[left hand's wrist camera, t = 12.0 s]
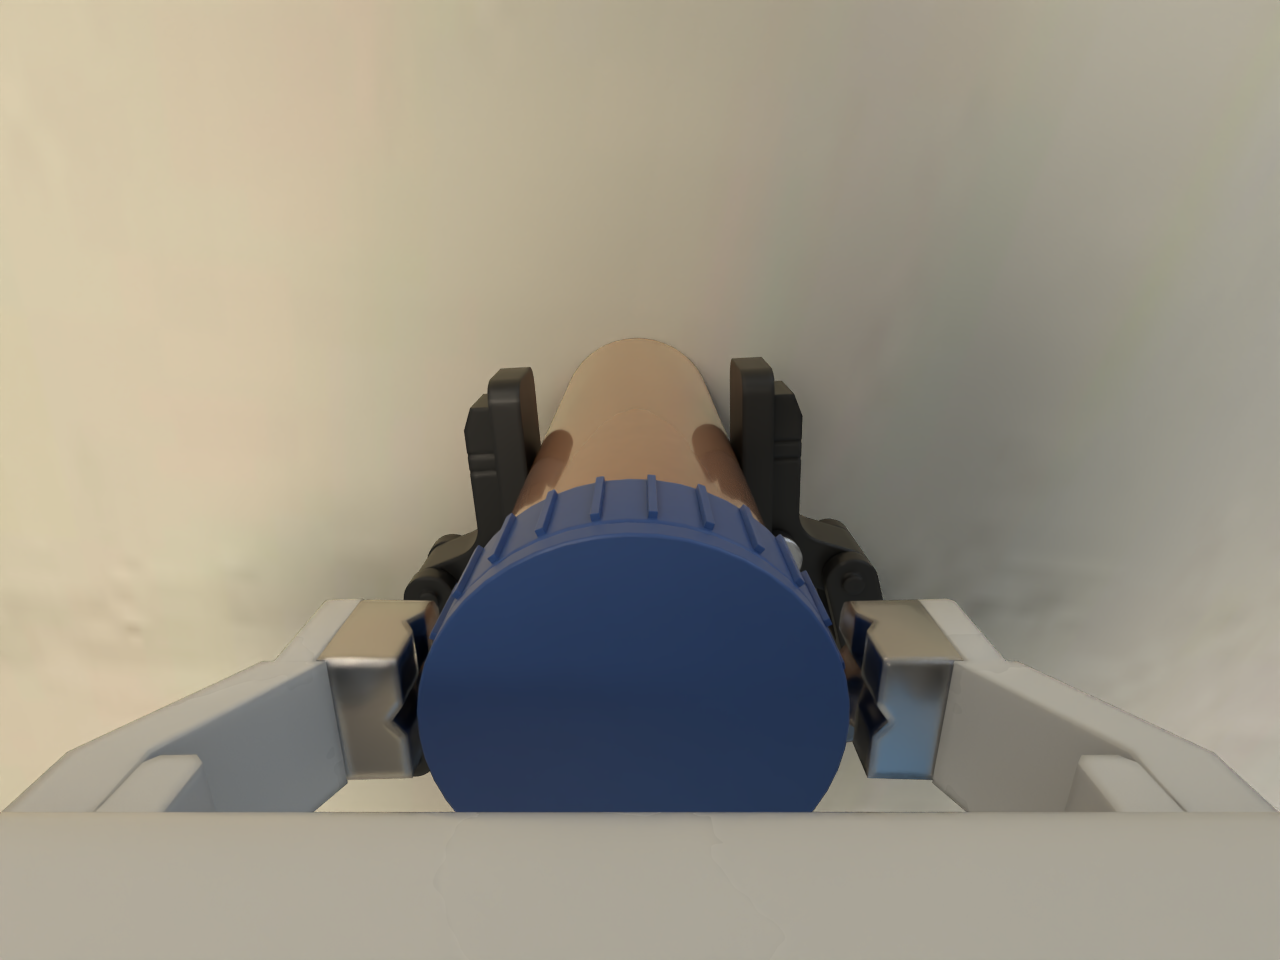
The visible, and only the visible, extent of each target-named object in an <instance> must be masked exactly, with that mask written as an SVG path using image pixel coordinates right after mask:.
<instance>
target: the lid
mask: <svg viewBox="0 0 1280 960" xmlns="http://www.w3.org/2000/svg"><path fill="white" fill-rule="evenodd" d="M830 625H832V622H831V620H830V618H829V616H828V614H827V612H826V610H825V608H824V606H823V604H822V602H821V600H820V598H819V596H818V593H817V591H816V589H815V587H814V585H813V583H812V581H811V579H810V577H809V575H808V573H807V571H806V570H805V571H803V572H801V573H800V571H799V568H798V566H797V564H796V562H795V560H794V558H793V556H792V553H791V551H790V549H789V547H788V545H787V543H786V541H785V539H784V537H783V536H782V535H781V534H779V535H778V536H777V537H775V536H774V535H773V534H772V533H771V532H770V531H769V530H768V529H767V528H766V527H764V526H763V525H762V524H761V523H759V522H758V521H757V520H756V519H754V518H753V516H752V513H751V511H750V508H749V507H747V506H746V505H744V504H743V505H742V506H741V508H738V507H737V506H735V505H733V504H731V503H730V502H728V501H726V500H724V499H722V498H719V497H717V496H715V495H712V494H710V493H708V492H707V491H706V487H705V486H704V485H701V484H698V485H697V487H696V488H692V487H689V486H685V485H682V484H677V483H671V482H665V481H658V480H656V475H649V474H648V475H647V480H645V479H622V480H611V481H605V478H604V476H601V477H596V482H595V483H592V484H587V485H583V486H578V487H575V488H572V489H569V490H566V491H564V492H561V493H558V494H557V492H556V490H555V489H554V490H551V491H549V492H548V493H547V496H546V499H545V500H543V501H541V502H539V503H537V504H535V505H533V506H531V507H529V508H528V509H527V510H525V511H524V512H522V513H521V514H519V515H518V516H515V515H514V514H513V513H511V514H510V515H508V516H507V517H506V519H505V521H504V523H503V526H502V528H501V530H500V531H499V532H497V533H496V534H495V535H494V536H493V537H492V539H491V540H490V541H489V542H488V543H487V545H486V546H485V547H484V548H483V547H481V546H480V545H478V546H477V547H476V549H475V550H474V552H473V554H472V556H471V558H470V560H469V562H468V564H467V566H466V568H465V570H464V572H463V574H462V576H461V578H460V580H459V582H458V583H456V585H455V587H454V589H453V591H452V593H451V595H450V597H449V598H448V600H447V602H446V604H445V606H444V608H443V610H442V612H441V614H440V616H439V618H438V620H437V622H436V624H435V626H434V628H433V630H432V632H431V634H430V637H429V639H432V640H434V641H433V644H432V646H431V649H430V651H429V653H428V656H427V658H426V661H425V663H424V667H423V671H422V675H421V679H420V684H419V689H418V703H417V718H418V729H419V737H420V741H421V745H422V749H423V753H424V757H425V760H426V762H427V765H428V767H429V769H430V772H431V774H432V777H433V779H434V781H435V783H436V784H437V786H438V788H439V789H440V791H441V793H442V794H443V796H444V798H445V799H446V801H447V802H448V803H449V804H450V806H451V807H452V808H453V809H454V811H455V812H812V811H813V810H814V809H815V808H816V806H817V805H818V803H819V802H820V800H821V799H822V798H823V796H824V795H825V793H826V792H827V790H828V788H829V786H830V784H831V783H832V781H833V779H834V777H835V775H836V773H837V771H838V768H839V765H840V762H841V759H842V756H843V753H844V750H845V746H846V740H847V735H848V729H849V710H850V700H849V693H848V686H847V680H846V675H845V672H844V669H845V663H844V660H843V658H842V656H841V654H840V652H839V650H838V648H837V645H836V643H835V641H834V639H833V637H832V635H831V633H830V631H829V629H828V626H830Z"/></svg>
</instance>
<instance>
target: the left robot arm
mask: <svg viewBox="0 0 1280 960" xmlns="http://www.w3.org/2000/svg"><path fill="white" fill-rule="evenodd" d="M438 618H439V609H438V607H437V605H436V603H435V602H434V601H420V600H364V599H334V600H327V601H325V602H324V603H323V604H322V605H321V606H320V608H319V609H318V610H317V611H316V612H315V613H314V615H313V616H312V617H311V618H310V619H309V620H308V622H307V623H306V624H305V625H304V626H303V627H302V629H301V630H300V631H299V632H298V633H297V634H296V636H295V637H294V638H293V639H292V640H291V642H290V643H289V644H288V645H287V646H286V647H285V649H284V650H283V651H282V652H281V653H280V654H279V656H278V657H277V658H276V659H275V660H274V661H262V662H260V663H257V664H255V665H253V666H251V667H249V668H247V669H245V670H242V671H240V672H238V673H236V674H234V675H232V676H229V677H227V678H225V679H223V680H221V681H219V682H217V683H214V684H212V685H210V686H208V687H206V688H204V689H202V690H199V691H197V692H195V693H193V694H191V695H189V696H186V697H184V698H182V699H180V700H178V701H176V702H174V703H171V704H169V705H167V706H165V707H163V708H161V709H158V710H156V711H154V712H152V713H150V714H148V715H146V716H143V717H141V718H139V719H137V720H135V721H133V722H131V723H128V724H126V725H124V726H122V727H120V728H118V729H115V730H113V731H111V732H109V733H107V734H105V735H103V736H100V737H98V738H96V739H94V740H92V741H90V742H87V743H85V744H83V745H81V746H79V747H77V748H75V749H72V750H70V751H68V752H67V753H65V754H64V755H63V756H62V757H61V758H60V759H59V760H58V761H57V762H56V763H55V764H53V765H52V766H51V767H50V768H49V769H48V770H47V771H46V772H45V773H44V774H42V775H41V776H40V777H39V778H38V779H37V780H36V781H35V782H34V783H33V784H31V785H30V786H29V787H28V788H27V789H26V790H25V791H24V792H23V793H22V794H20V795H19V796H18V797H17V798H16V799H15V800H14V801H13V802H12V803H11V804H10V805H8V806H7V807H6V808H5V809H4V810H3V811H2V812H0V960H1280V812H1278V811H1277V810H1276V809H1275V808H1274V807H1273V806H1272V805H1271V804H1269V803H1268V802H1267V801H1266V800H1265V799H1264V798H1263V797H1262V796H1261V795H1260V794H1259V793H1257V792H1256V791H1255V790H1254V789H1253V788H1252V787H1251V786H1250V785H1249V784H1248V783H1247V782H1245V781H1244V780H1243V779H1242V778H1241V777H1240V776H1239V775H1238V774H1237V773H1236V772H1235V771H1233V770H1232V769H1231V768H1230V767H1229V766H1228V765H1227V764H1226V763H1225V762H1224V761H1223V760H1221V759H1220V758H1219V757H1218V756H1217V755H1216V754H1215V753H1213V752H1211V751H1209V750H1207V749H1205V748H1203V747H1200V746H1198V745H1196V744H1194V743H1192V742H1190V741H1188V740H1185V739H1183V738H1181V737H1179V736H1177V735H1175V734H1173V733H1170V732H1168V731H1166V730H1164V729H1162V728H1160V727H1158V726H1155V725H1153V724H1151V723H1149V722H1147V721H1145V720H1143V719H1140V718H1138V717H1136V716H1134V715H1132V714H1130V713H1128V712H1125V711H1123V710H1121V709H1119V708H1117V707H1115V706H1113V705H1110V704H1108V703H1106V702H1104V701H1102V700H1100V699H1097V698H1095V697H1093V696H1091V695H1089V694H1087V693H1085V692H1082V691H1080V690H1078V689H1076V688H1074V687H1072V686H1070V685H1067V684H1065V683H1063V682H1061V681H1059V680H1057V679H1055V678H1052V677H1050V676H1048V675H1046V674H1044V673H1042V672H1040V671H1037V670H1035V669H1033V668H1031V667H1029V666H1027V665H1025V664H1022V663H1020V662H1018V661H1006V660H1005V659H1004V658H1003V657H1002V656H1001V655H1000V653H999V652H998V651H997V650H996V649H995V648H994V646H993V645H992V644H991V643H990V642H989V641H988V639H987V638H986V637H985V636H984V635H983V633H982V632H981V631H980V630H979V629H978V628H977V626H976V625H975V624H974V623H973V622H972V621H971V619H970V618H969V617H968V616H967V615H966V614H965V612H964V611H963V610H962V609H961V608H960V607H959V605H958V604H957V603H956V602H955V601H952V600H950V599H927V600H877V601H848V602H844V604H843V607H842V610H841V614H840V622H839V630H840V632H841V634H842V636H843V638H844V640H845V642H846V644H845V645H844V646H843V647H842V648H841V649H840V651H839V652H840V654H841V656H842V658H843V660H844V663H845V669H844V672H845V675H846V680H847V686H848V693H849V700H850V710H849V724H850V725H851V726H853V727H854V735H853V745H854V747H855V749H856V752H857V754H858V756H859V759H860V761H861V763H862V766H863V768H864V770H865V773H866V775H867V778H886V779H923V780H933V781H932V783H933V784H934V785H936V786H937V787H938V788H939V789H940V790H941V791H943V792H944V793H945V794H946V795H947V796H949V797H950V798H951V799H952V800H953V801H954V802H956V803H957V804H958V805H959V806H960V807H961V808H963V809H964V810H965V811H966V812H314V811H315V810H316V809H318V808H319V807H320V806H321V805H322V804H323V803H325V802H326V801H327V800H328V799H329V798H331V797H332V796H333V795H334V794H335V793H336V792H338V791H339V790H340V789H341V788H342V787H344V786H345V785H346V784H347V780H357V779H392V778H413V775H414V773H415V770H416V768H417V766H418V763H419V761H420V759H421V756H422V754H423V749H422V745H421V741H420V737H419V729H418V718H417V703H418V689H419V684H420V679H421V675H422V671H423V667H424V663H425V661H426V658H427V656H428V653H429V651H430V649H431V646H432V644H433V641H434V640H432V639H429V637H430V634H431V632H432V630H433V628H434V626H435V624H436V622H437V620H438Z"/></svg>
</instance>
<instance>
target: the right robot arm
mask: <svg viewBox="0 0 1280 960" xmlns="http://www.w3.org/2000/svg"><path fill="white" fill-rule="evenodd" d="M464 434H465V441H466V448H467V453H468V462H469V469H470V477H471V484H472V491H473V498H474V505H475V512H476V519H477V527H478V529H477V530H475V531H473V532H471V533H468V534H466V535H463V536H461V535H457V534H449V535H445V536H443V537H441V538H439V539H438V540H437V541H436V543H435V544H434V546H433V547H432V549H431V550H430V552H429V554H428V558H427V560H426V561H425V563H424V565H423V566H422V568H421V569H420V571H419V572H418V573H417V574H416V575H414V577H413V578H412V580H411V581H410V583H409V584H408V586H407V587H406V590H405V593H404V600H420V601H434V602H435V603H436V605H437V607H438V609H439V616H440V614H441V612H442V610H443V608H444V606H445V604H446V602H447V600H448V598H449V597H450V595H451V593H452V591H453V589H454V587H455V585H456V583H458V582H459V580H460V578H461V576H462V574H463V572H464V570H465V568H466V566H467V564H468V562H469V560H470V558H471V556H472V554H473V552H474V550H475V549H476V547H477V546H478V545H480V546H481V547H483V548H484V547H485V546H486V545H487V543H488V542H489V541H490V540H491V539H492V537H493V536H494V535H495V534H496V533H497V532H499V531H500V530H501V528H502V526H503V523H504V521H505V519H506V517H507V516H508V515H510V514H511V512H512V509H513V507H514V505H515V503H516V501H517V498H518V496H519V494H520V492H521V489H522V487H523V485H524V483H525V481H526V478H527V476H528V474H529V472H530V469H531V467H532V465H533V463H534V460H535V458H536V456H537V454H538V452H539V449H540V447H541V443H540V434H539V424H538V414H537V404H536V394H535V384H534V377H533V372H532V369H531V367H524V368H504V369H500V370H499V371H498V372H497V373H496V374H495V375H494V376H493V377H492V378H491V379H490V381H489V384H488V394H483V395H482V396H481V397H480V398H479V399H478V400H477V402H476V403H475V404H474V405H473V406H472V407H471V408H470V410H469V414H468V418H467V422H466V425H465V429H464ZM801 439H802V413H801V411H800V408H799V406H798V403H797V400H796V398H795V395H794V394H793V393H792V391H791V390H790V389H789V388H788V387H787V386H786V385H785V384H784V383H783V382H782V381H774V376H773V371H772V368H771V367H770V366H769V365H768V364H767V362H766V361H765V360H764V359H763V358H762V357H753V358H732V359H731V365H730V444H731V446H732V448H733V451H734V453H735V455H736V458H737V460H738V463H739V465H740V467H741V470H742V472H743V474H744V477H745V479H746V481H747V484H748V486H749V489H750V491H751V493H752V496H753V498H754V500H755V503H756V505H757V507H758V510H759V512H760V515H761V517H762V519H763V522H764V524H765V526H766V528H767V529H768V530H769V531H770V532H771V533H772V534H773V535H774V536H775V537H777V536H778V535H779V534H781V535H782V536H783V537H784V539H785V541H786V543H787V545H788V547H789V549H790V551H791V553H792V556H793V558H794V560H795V562H796V564H797V566H798V568H799V571H800V573H801V572H803V571H805V570H806V571H807V573H808V575H809V577H810V579H811V581H812V583H813V585H814V587H815V589H816V591H817V593H818V596H819V598H820V600H821V602H822V604H823V606H824V608H825V610H826V612H827V614H828V616H829V618H830V620H831V622H832V625H830V626H828V629H829V631H830V633H831V635H832V637H833V639H834V641H835V643H836V645H837V648H838V650H839V651H840V649H841V648H842V647H843V646H844V645H845V644H846V642H845V640H844V638H843V636H842V634H841V632H840V630H839V622H840V614H841V610H842V607H843V604H844V602H848V601H877V600H883V599H882V594H881V589H880V585H879V580H878V575H877V572H876V571H875V569H874V567H873V566H872V565H871V563H870V562H869V560H868V559H867V557H866V556H865V554H864V553H863V551H862V550H861V549H860V547H859V546H858V544H857V543H856V541H855V540H854V538H853V537H852V536H851V534H850V533H849V531H848V530H847V528H846V527H845V526H844V525H843V524H842V523H841V522H839V521H837V520H834V519H823V520H819V521H817V520H813V519H810V518H807V517H804V516H802V515H800V514H799V501H800V473H801V444H802V443H801ZM853 735H854V727H853V726H851V725H850V724H849V729H848V735H847V740H846V742H851V741H853ZM429 771H430V769H429V767H428V765H427V762H426V760H425V757H424V753H423V754H422V756H421V759H420V761H419V763H418V766H417V768H416V770H415V773H414V775H413V776H421V775H424V774H426V773H428V772H429Z"/></svg>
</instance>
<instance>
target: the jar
mask: <svg viewBox="0 0 1280 960" xmlns="http://www.w3.org/2000/svg"><path fill="white" fill-rule="evenodd" d="M648 474H649V475H656V480H658V481H665V482H671V483H677V484H682V485H685V486H689V487H692V488H696V487H697V485H698V484H701V485H704V486H705V487H706V491H707V492H708V493H710V494H712V495H715V496H717V497H719V498H722V499H724V500H726V501H728V502H730V503H731V504H733V505H735V506H737V507H738V508H741V506H742V505H743V504H744V505H746V506H747V507H749V508H750V511H751V513H752V516H753V518H754V519H756V520H757V521H758V522H759V523H761V524H762V525H763V526H764V527H766V526H765V524H764V522H763V519H762V517H761V515H760V512H759V510H758V507H757V505H756V503H755V500H754V498H753V496H752V493H751V491H750V489H749V486H748V484H747V481H746V479H745V477H744V474H743V472H742V470H741V467H740V465H739V463H738V460H737V458H736V455H735V453H734V451H733V448H732V446H731V444H730V441H729V439H728V436H727V434H726V432H725V429H724V427H723V425H722V422H721V420H720V418H719V415H718V413H717V410H716V408H715V406H714V403H713V401H712V399H711V396H710V394H709V391H708V389H707V387H706V384H705V382H704V380H703V378H702V376H701V374H700V373H699V371H698V370H697V368H696V367H695V365H694V364H693V363H692V362H691V361H690V360H689V359H688V358H687V357H686V356H685V355H683V354H682V353H681V352H680V351H678V350H676V349H675V348H673V347H671V346H669V345H667V344H665V343H662V342H659V341H656V340H651V339H645V338H631V339H623V340H619V341H615V342H612V343H610V344H607V345H605V346H603V347H601V348H599V349H597V350H596V351H595V352H593V353H592V354H591V355H589V356H588V357H587V358H586V359H585V360H584V361H583V362H582V363H581V365H580V366H579V367H578V368H577V370H576V371H575V373H574V375H573V376H572V378H571V380H570V383H569V385H568V387H567V389H566V391H565V394H564V396H563V398H562V400H561V403H560V405H559V407H558V409H557V412H556V414H555V416H554V418H553V420H552V423H551V425H550V427H549V429H548V432H547V434H546V436H545V438H544V440H543V443H542V445H541V447H540V449H539V452H538V454H537V456H536V458H535V460H534V463H533V465H532V467H531V469H530V472H529V474H528V476H527V478H526V481H525V483H524V485H523V487H522V489H521V492H520V494H519V496H518V498H517V501H516V503H515V505H514V507H513V509H512V512H511V513H513V514H514V515H515V516H518V515H519V514H521V513H522V512H524V511H525V510H527V509H528V508H529V507H531V506H533V505H535V504H537V503H539V502H541V501H543V500H545V499H546V496H547V493H548V492H549V491H551V490H554V489H555V490H556V492H557V494H558V493H561V492H564V491H566V490H569V489H572V488H575V487H578V486H583V485H587V484H592V483H595V482H596V477H601V476H604V478H605V481H611V480H622V479H645V480H647V475H648Z"/></svg>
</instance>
